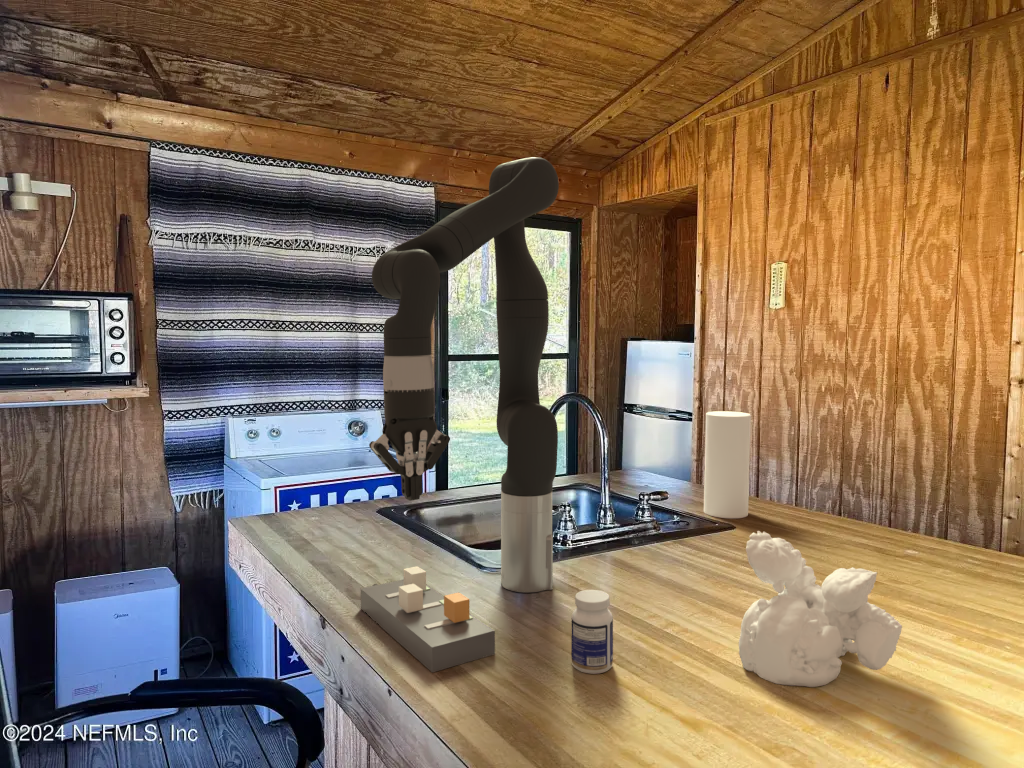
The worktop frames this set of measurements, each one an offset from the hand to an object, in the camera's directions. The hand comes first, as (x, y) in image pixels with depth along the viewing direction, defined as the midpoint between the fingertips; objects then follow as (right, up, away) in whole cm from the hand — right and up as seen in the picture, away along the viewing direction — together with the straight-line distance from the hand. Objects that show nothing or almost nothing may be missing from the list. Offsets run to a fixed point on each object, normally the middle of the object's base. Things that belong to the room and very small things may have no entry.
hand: (412, 499), depth 110 cm
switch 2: (0, -17, 0) cm, 17 cm away
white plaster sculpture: (+57, -22, -9) cm, 62 cm away
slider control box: (0, -20, +4) cm, 21 cm away
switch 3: (+7, -17, -3) cm, 19 cm away
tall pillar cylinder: (+69, -15, +71) cm, 100 cm away
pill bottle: (+26, -22, -10) cm, 35 cm away
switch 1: (-1, -16, +8) cm, 18 cm away
